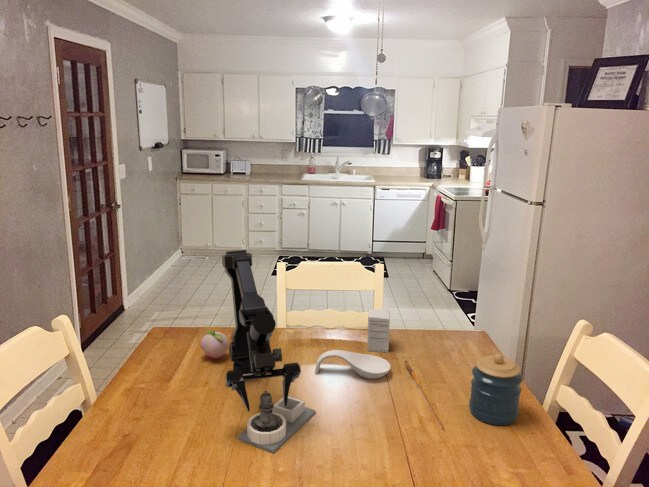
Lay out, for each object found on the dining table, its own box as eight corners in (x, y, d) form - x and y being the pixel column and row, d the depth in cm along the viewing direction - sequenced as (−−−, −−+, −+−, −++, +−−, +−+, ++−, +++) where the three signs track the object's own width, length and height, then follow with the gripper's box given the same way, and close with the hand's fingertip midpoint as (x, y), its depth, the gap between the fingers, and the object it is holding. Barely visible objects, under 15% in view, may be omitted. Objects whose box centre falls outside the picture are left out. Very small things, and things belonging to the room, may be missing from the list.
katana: (440, 434, 137) (440, 425, 136) (403, 365, 170) (404, 358, 169) (445, 434, 137) (445, 425, 136) (407, 365, 170) (408, 357, 170)
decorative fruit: (235, 356, 175) (234, 329, 173) (217, 366, 169) (216, 338, 166) (214, 349, 180) (213, 322, 178) (196, 359, 174) (195, 331, 171)
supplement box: (367, 342, 188) (369, 308, 184) (388, 343, 187) (390, 310, 183) (366, 351, 180) (367, 316, 177) (388, 352, 179) (389, 318, 176)
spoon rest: (389, 366, 171) (390, 346, 169) (391, 385, 159) (392, 363, 157) (316, 363, 172) (316, 343, 170) (313, 381, 161) (313, 360, 159)
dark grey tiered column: (279, 438, 131) (278, 395, 128) (255, 440, 131) (254, 397, 127) (277, 424, 137) (276, 383, 134) (255, 426, 136) (253, 385, 133)
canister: (517, 405, 149) (524, 347, 144) (518, 430, 137) (525, 369, 132) (470, 396, 153) (475, 340, 148) (466, 421, 141) (472, 361, 136)
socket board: (282, 401, 149) (282, 389, 148) (315, 413, 144) (315, 400, 143) (237, 439, 132) (237, 425, 131) (273, 453, 127) (273, 439, 126)
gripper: (224, 341, 129) (230, 405, 121) (299, 333, 133) (309, 395, 126) (223, 356, 138) (228, 417, 131) (292, 348, 143) (302, 406, 135)
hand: (267, 408), depth 130 cm, fingers open, 9 cm apart
